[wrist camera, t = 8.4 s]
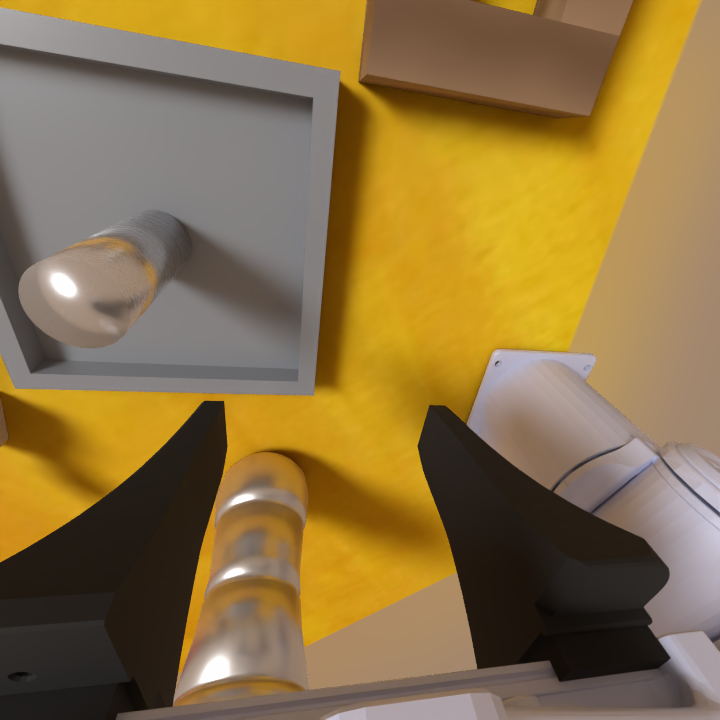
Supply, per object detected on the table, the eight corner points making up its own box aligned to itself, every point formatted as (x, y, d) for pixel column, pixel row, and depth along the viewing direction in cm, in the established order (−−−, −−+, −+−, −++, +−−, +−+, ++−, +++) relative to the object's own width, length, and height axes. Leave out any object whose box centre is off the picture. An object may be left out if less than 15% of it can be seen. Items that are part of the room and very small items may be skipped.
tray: (312, 377, 24) (313, 395, 23) (38, 368, 21) (15, 388, 20) (336, 78, 16) (340, 71, 14) (-103, -3, 13) (-163, -24, 11)
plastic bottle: (313, 441, 27) (332, 939, 10) (303, 501, 31) (305, 950, 14) (222, 437, 26) (74, 1004, 9) (222, 500, 29) (115, 998, 12)
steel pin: (192, 276, 19) (133, 354, 12) (128, 265, 18) (30, 341, 12) (192, 217, 18) (126, 269, 11) (123, 202, 17) (7, 249, 10)
